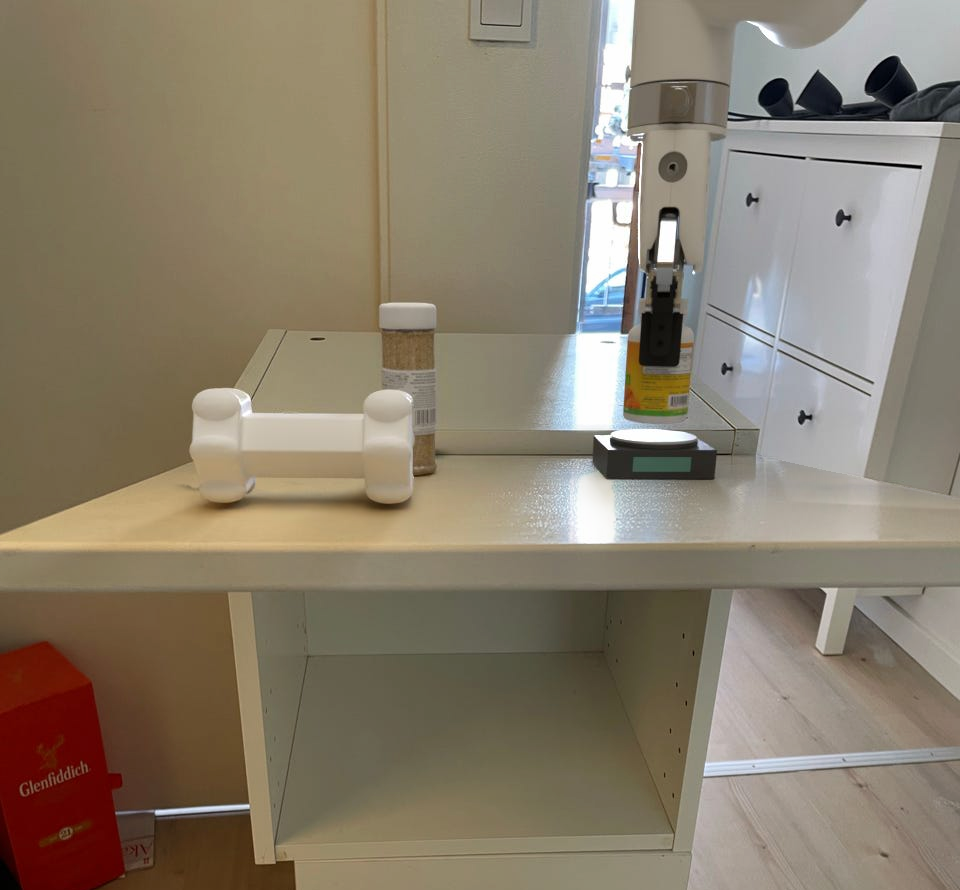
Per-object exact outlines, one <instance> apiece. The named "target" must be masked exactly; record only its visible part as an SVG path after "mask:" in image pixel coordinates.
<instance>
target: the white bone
mask: <svg viewBox="0 0 960 890" xmlns="http://www.w3.org/2000/svg"><path fill="white" fill-rule="evenodd" d="M412 408H413V399H412V397H411V396H410V395H409V394H407V393H406V392H403V391H400V390H391V389H387V390H382V389H380V390H377V391H374V392H372V393H370V394H369V395H368V396H367V397H366V398H365V399H364V401H363V404H362V411H363V413H311V412H309V413H307V412H306V413H304V412H303V413H300V412H299V413H298V412H293V413H292V412H286V413H285V412H283V413H282V412H253V408H252V399H251V397H250V395H249V394H248V393H246V392H245V391H244V390H241V389H238V388H232V387H220V388H217V387H215V388H207V389H204V390H202V391H199V392H198V393H197V394H196V395H195V396H194V397H193V399H192V403H191V410H192V414H193V415H192V433H191V443H190V445H189V451H188V452H189V456H190V458H191V459H192V461H193V464H194V468H195V472H196V476H197V480H198V484H199V486H198V493H199V494H200V496H201V497H202V498H204V499H205V500H207V501H210V502H213V503H218V504H227V503H228V504H229V503H235V502H238V501H240V500H242V499H243V498H245V497H246V496H247V495H248V494H250V493H252V492H253V490H254V489H255V487H256V484H257V478H259V479H262V478H266V479H279V478H280V479H287V478H288V479H364V482H365V483H364V484H365V488H364V491H365V494H366V496H367V498H369V499H370V500H371V501H374V502H375V503H379V504H387V505H388V504H390V505H392V504H400V503H404V502H406V501H407V500H408V499H410V498H411V497H412V495H413V491H414V486H415V475H413V445H414V442H415V438H414V434H413V431H412Z"/></svg>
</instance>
